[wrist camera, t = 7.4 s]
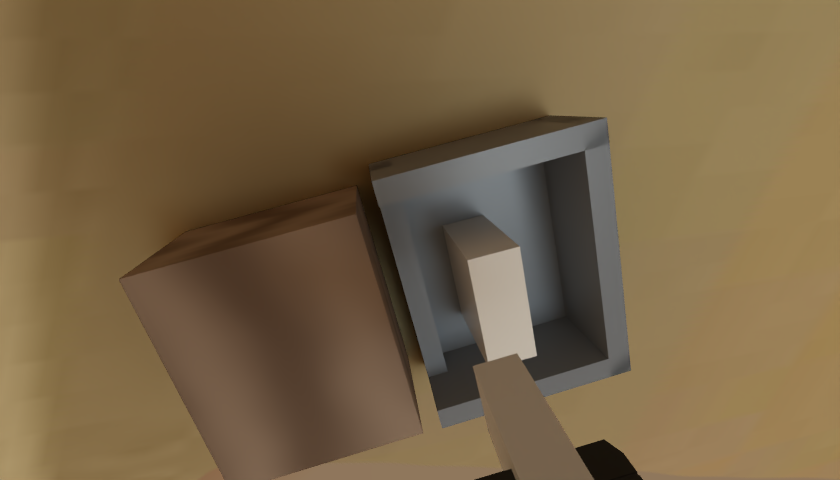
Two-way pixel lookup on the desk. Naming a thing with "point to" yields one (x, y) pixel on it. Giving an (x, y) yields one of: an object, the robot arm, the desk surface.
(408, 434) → the brown block
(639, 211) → the desk surface
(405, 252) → the box
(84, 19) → the desk surface
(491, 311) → the cream tile
